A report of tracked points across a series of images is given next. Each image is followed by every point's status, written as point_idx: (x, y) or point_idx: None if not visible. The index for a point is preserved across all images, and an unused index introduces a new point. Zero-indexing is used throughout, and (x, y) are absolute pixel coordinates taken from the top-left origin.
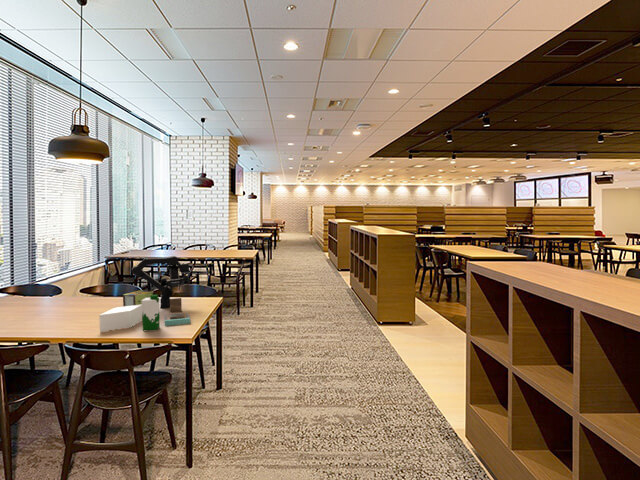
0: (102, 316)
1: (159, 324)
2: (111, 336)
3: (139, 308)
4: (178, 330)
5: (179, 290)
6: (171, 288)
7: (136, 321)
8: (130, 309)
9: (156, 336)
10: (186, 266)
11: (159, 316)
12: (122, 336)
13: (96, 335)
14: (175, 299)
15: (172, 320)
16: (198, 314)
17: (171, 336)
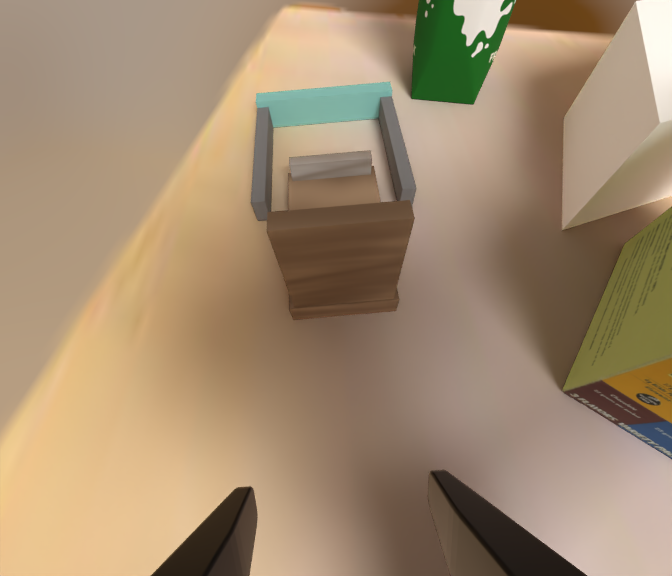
0: None
1: (412, 79)
2: (585, 43)
3: (632, 100)
4: (320, 57)
5: (247, 489)
6: (491, 511)
7: (572, 146)
8: (658, 19)
9: (399, 24)
10: None
11: (417, 18)
12: (536, 38)
13: None
14: (340, 211)
15: (350, 86)
16: (179, 265)
17: (344, 19)
